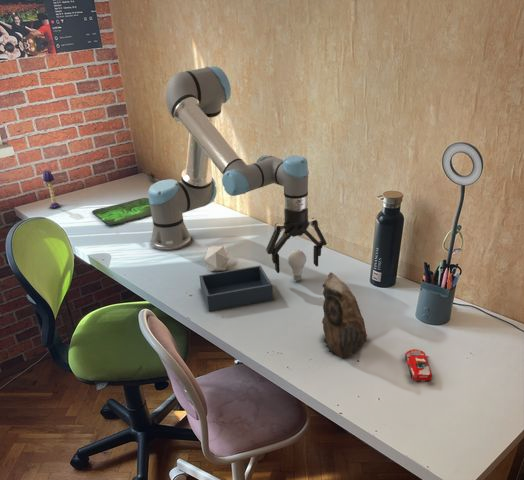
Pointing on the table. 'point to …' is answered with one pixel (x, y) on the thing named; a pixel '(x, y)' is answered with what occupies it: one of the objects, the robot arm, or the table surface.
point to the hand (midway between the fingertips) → (296, 268)
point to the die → (217, 258)
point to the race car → (418, 366)
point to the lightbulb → (297, 263)
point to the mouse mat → (124, 211)
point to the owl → (342, 319)
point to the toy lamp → (50, 188)
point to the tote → (236, 288)
